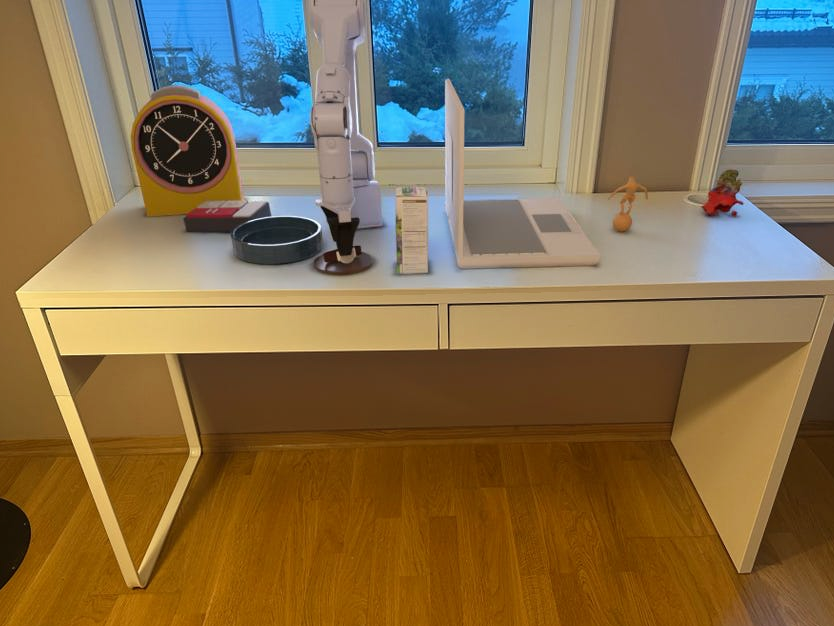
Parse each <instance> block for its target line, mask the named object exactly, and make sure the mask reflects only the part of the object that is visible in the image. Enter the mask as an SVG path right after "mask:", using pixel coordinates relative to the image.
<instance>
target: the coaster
mask: <svg viewBox="0 0 834 626" xmlns="http://www.w3.org/2000/svg"><path fill="white" fill-rule="evenodd" d="M373 263H374V261H373V256H371V255H370V254H368V253H366V252H364V251H362V254H361V255H359V256H356V257H354V259H353V260H352V261H351V262H350V263H343V262H341V261H334V262H328V263H326V262H325V261H324V257H323V253H322V254H320V255H318V256H317V257H315V258H314V259H313V267H314V269H315V270H316V271H318V272H320V273H322V274H325V275H326V274H327V275H331V276H346V275H353V274H358V273H361V272H364V271H366V270H368V269H369V268H370V267H372V265H373Z"/></svg>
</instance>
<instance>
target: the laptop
mask: <svg viewBox="0 0 834 626" xmlns="http://www.w3.org/2000/svg"><path fill="white" fill-rule="evenodd" d="M444 83H445V84H444V135H445V138H444V140H445V141H444V143H445V145H444V151H445V153H444V154H445V155H444V159H445V160H444V161H445V162H444V163H445V168H444V170H445V171H444V172H445V173H444V175H445V177H444V178H445V179H444V180H445V183H444V185H445V188H444V189H445V191H444V192H445V193H444V194H445V195H444V197H445V204H444V207H445V213H446V216H447V222H448V226H449V232H450V235H451V240H452V246H453V250H454V254H455V255H454V256H455V259H456V264H457V267H458V268H459V269H461V270H479V269H481V270H482V269H511V268H549V267H550V268H551V267H553V268H554V267H556V268H557V267H586V266H589V267H590V266H591V267H592V266H594V265H597V264H599V263H600V258H601V254H600V253H599V251H598V249H597V248H596V247H595V245H594V244H593V242H591V240H590V239H589V237H588V236H587V234H586V233H585V231H584V230H583V229H582V227H581V226H580V224H579V223H578V221H577V220H576V219H575V218H574V216H573V214H572V213H571V211H570V210H569V209H568V208H567V206H566V205H565V203H564V201H563V200H562V199H561V198H559V197H558V198H555V197H554V198H503V199H502V198H501V199H499V198H496V199H464V191H465V190H464V188H465V187H464V186H465V185H464V182H465V181H464V179H465V177H464V176H465V171H464V170H465V107H464V105H463V103H462V101H461V100H460V98H459V95H458V93H457V91H456V89H455V88H454V85H453V83H452V81H451V79H450V78H448V77H447V78H446V79H445V80H444Z"/></svg>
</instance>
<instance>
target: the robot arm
mask: <svg viewBox="0 0 834 626" xmlns="http://www.w3.org/2000/svg"><path fill="white" fill-rule="evenodd" d="M365 3H366V2H365V0H308V17H309V22H310V23H309V24H310V27H311V29H312V31H313V33H314V36H315V38H316V39H317V42H318V43H320V44H322V57H323V59H322V60H323V64H322V65H320V67H319V68H318V69H317V71H316V79H315V101H314V106H313V105H312V106H311V107H310V113H309V115H310V116H309V117H310V120H309V121H310V128H311V132H312V137H313V141H314V142H313V143H314V149H315V150H316V151H317V162H318V163H317V164H318V172H319V183H320V194H321V198H318V199H315V205H316V207H320V209H321V210H322V212H323V214H324V216H325V218H326V222H327V225H328V228H329V231H330V236H331V238H332V241H333V243H334V242H335V245H336V249H338V252H339V255H340V256H348V255H351V254H352V249H353V246H354V240H355V235H356V232H357V229H368V228H369V229H370V228H378V227H383V226H384V225H383V217H382V215H383V213H382V197H381V189H380V185H379V182H378V181H377V180H375V177H376V165H375V154H374V145H373V143H372V142H371V140H369V139H368V138H366V137H365V136H364V135H362V134H361V133H360V130H359V109H358V96H357V95H358V94H357V93H358V92H357V74H356V73H357V72H356V53H357V48H358V46H359V45H362V44H363V43H365V42H366V37H367V26H366V25H367V22H366V21H367V17H366V16H367V15H366V4H365Z"/></svg>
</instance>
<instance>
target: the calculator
mask: <svg viewBox="0 0 834 626" xmlns="http://www.w3.org/2000/svg"><path fill="white" fill-rule="evenodd" d="M265 217H272V211H271V207H270V202H269V201H266V200H250V201H248V200H246V199H244V201H227V202H225V201H205V202H204V203H202V204H201V205H199V206H198V207H197V208H195V209H193V210H192V211H191V212H189V213H188V214H185V216H184V217H183V224H184V227H185V230H186V232H188V233H197V232H201V233H203V232H205V233H208V232H211V233H212V232H231V231H232V230H233V229H234V228H235V227H237V226H238V225H240V224H242V223H245V222H247V221H251V220H255V219H259V218H265Z"/></svg>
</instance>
